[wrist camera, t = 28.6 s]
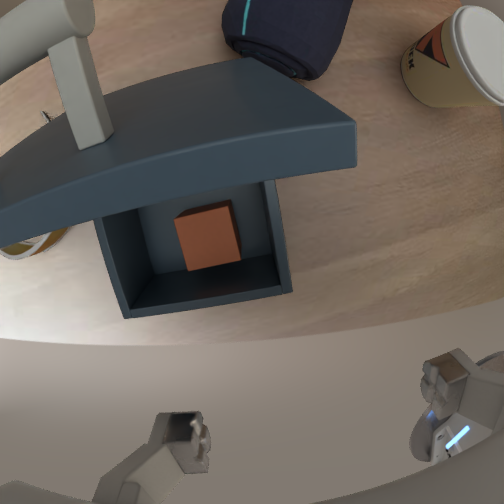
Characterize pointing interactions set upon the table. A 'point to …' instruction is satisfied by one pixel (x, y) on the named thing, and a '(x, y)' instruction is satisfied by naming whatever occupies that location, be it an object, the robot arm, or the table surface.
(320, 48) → the portable speaker
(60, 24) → the lid
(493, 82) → the coffee cup
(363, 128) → the table surface
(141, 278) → the open box
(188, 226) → the block
